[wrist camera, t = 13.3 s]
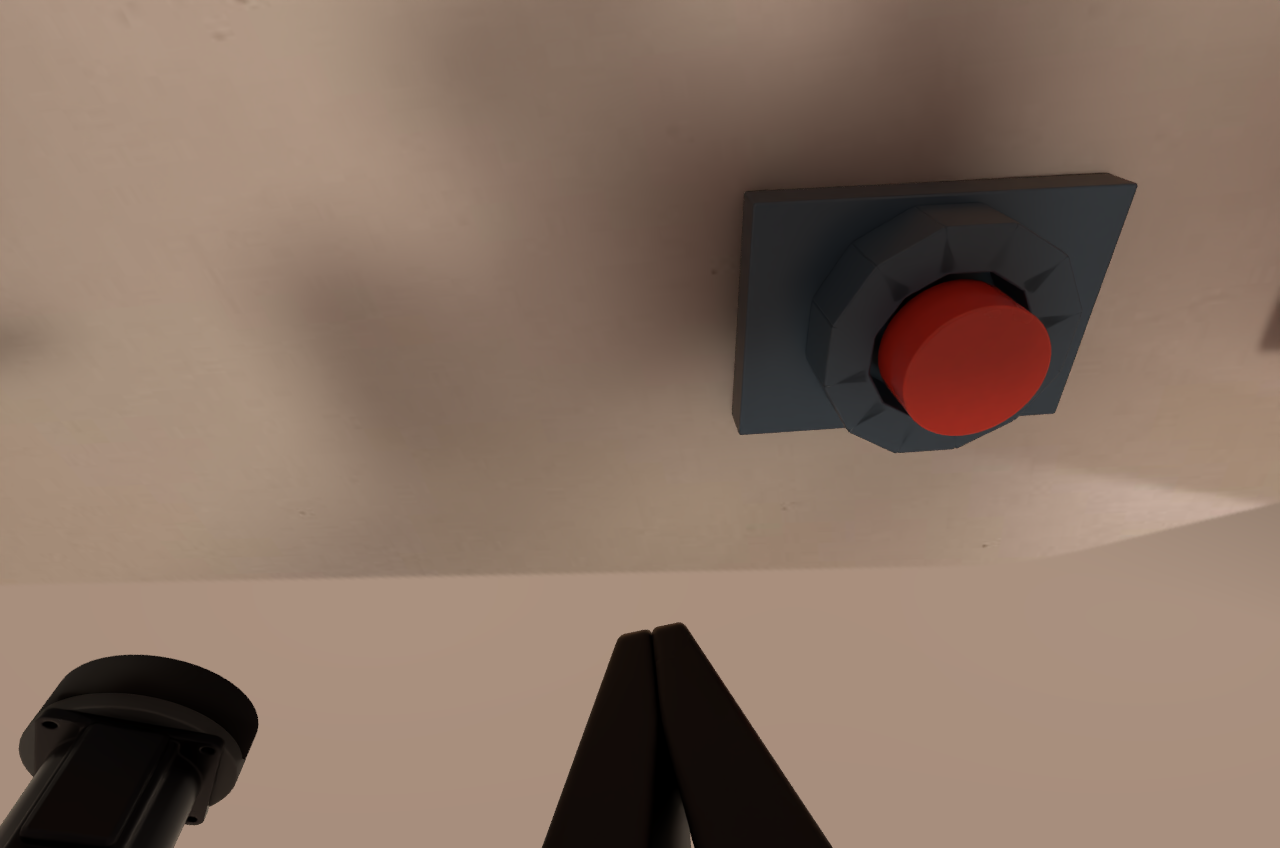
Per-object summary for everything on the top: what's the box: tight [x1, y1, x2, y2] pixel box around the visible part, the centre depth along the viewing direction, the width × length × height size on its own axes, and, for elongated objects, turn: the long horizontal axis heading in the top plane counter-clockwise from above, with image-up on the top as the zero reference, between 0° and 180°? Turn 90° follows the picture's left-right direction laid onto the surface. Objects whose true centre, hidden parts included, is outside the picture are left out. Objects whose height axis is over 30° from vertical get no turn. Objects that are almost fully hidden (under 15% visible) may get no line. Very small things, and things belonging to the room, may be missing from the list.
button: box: [878, 279, 1051, 436], centre depth 17 cm, size 4×4×2 cm
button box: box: [732, 173, 1137, 453], centre depth 19 cm, size 10×7×3 cm
